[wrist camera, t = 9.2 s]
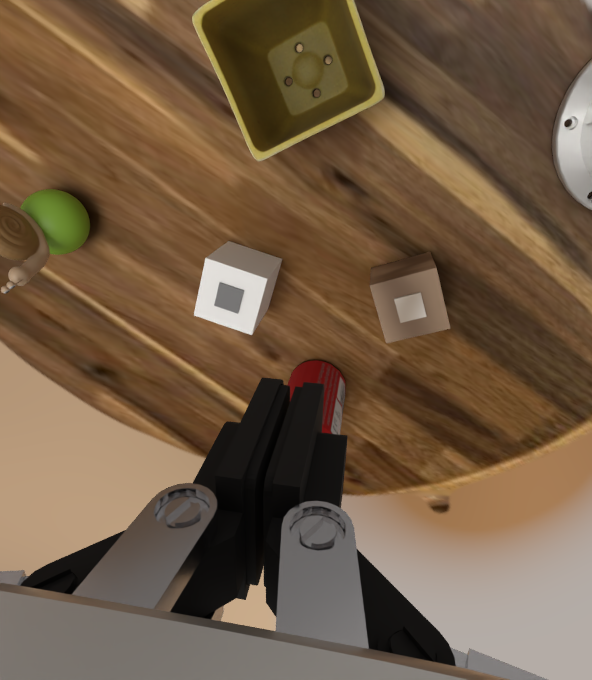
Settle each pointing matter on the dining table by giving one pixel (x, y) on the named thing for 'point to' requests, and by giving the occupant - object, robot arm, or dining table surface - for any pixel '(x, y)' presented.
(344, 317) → the dining table surface
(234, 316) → the white block
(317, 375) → the soda can
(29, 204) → the snail figurine
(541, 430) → the dining table surface
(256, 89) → the flower pot
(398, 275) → the walnut block
